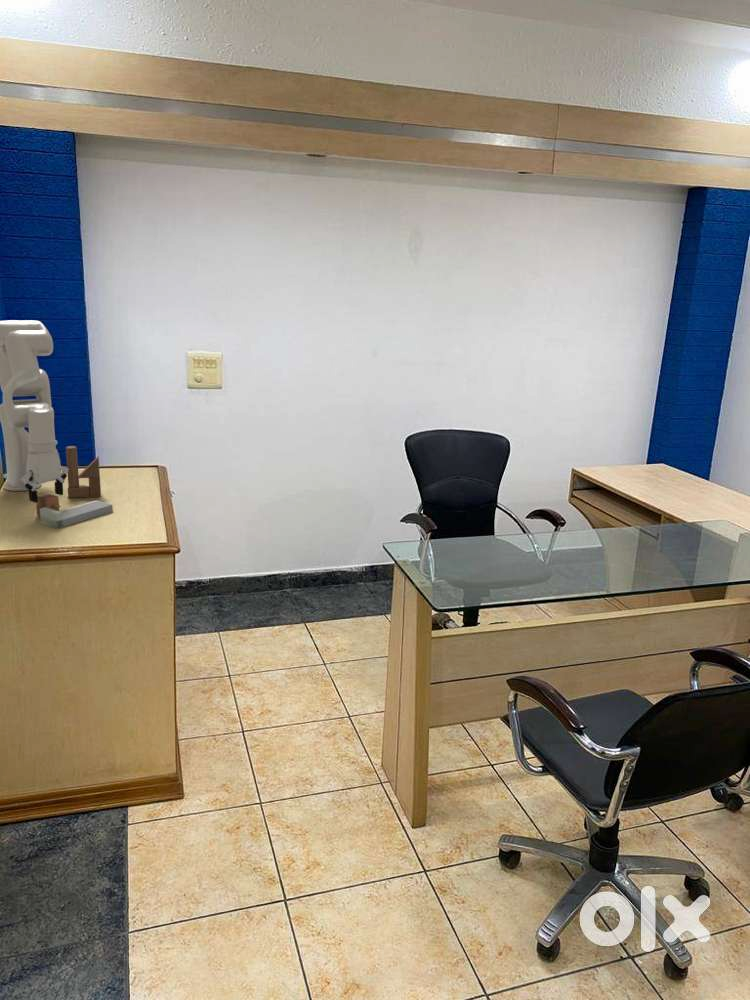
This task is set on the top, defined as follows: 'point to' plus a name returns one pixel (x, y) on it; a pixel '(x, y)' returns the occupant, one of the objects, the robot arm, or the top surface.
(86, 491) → the brown forked upright piece
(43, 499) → the brown block
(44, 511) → the grey board
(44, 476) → the robot arm
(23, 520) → the top surface
